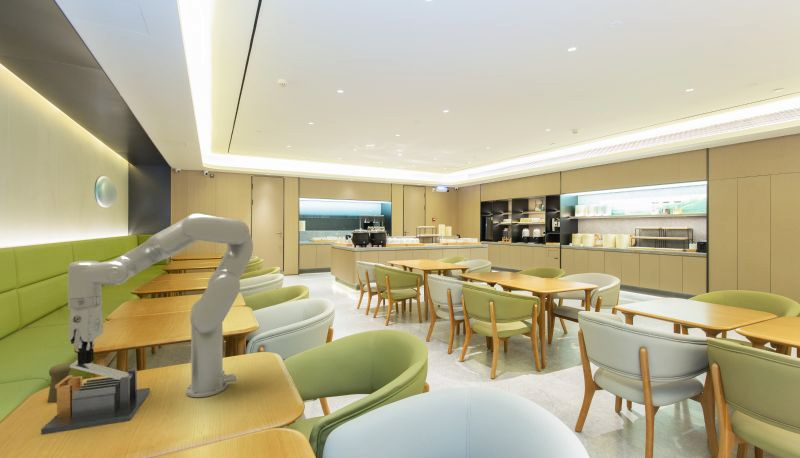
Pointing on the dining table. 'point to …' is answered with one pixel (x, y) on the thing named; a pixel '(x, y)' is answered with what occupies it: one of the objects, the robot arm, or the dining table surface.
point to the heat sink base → (105, 418)
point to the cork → (57, 379)
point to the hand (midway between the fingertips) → (85, 362)
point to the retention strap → (101, 370)
